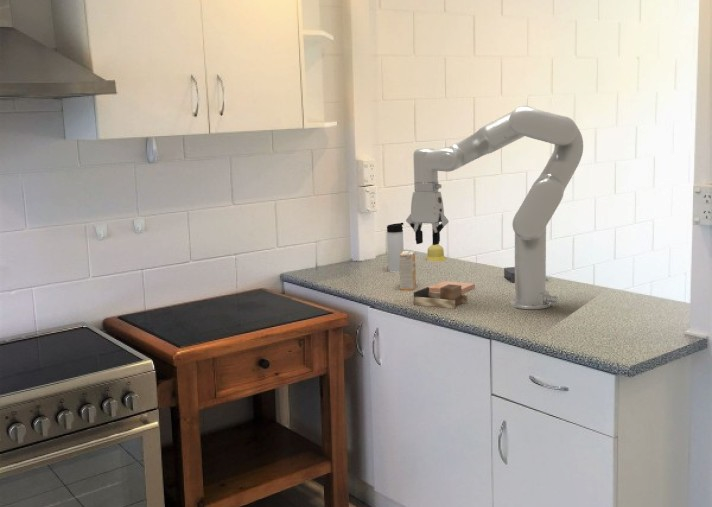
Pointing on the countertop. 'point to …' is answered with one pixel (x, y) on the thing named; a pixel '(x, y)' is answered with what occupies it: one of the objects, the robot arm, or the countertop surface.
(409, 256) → the supplement box
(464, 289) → the terracotta tile
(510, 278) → the streaming box
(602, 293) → the countertop surface
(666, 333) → the countertop surface
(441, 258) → the handbell
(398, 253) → the travel mug
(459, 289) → the walnut block
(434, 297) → the birch chute
